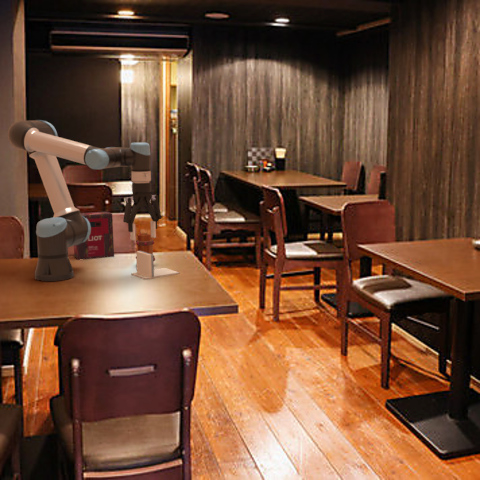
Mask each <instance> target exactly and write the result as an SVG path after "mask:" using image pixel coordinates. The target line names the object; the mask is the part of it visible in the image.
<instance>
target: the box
mask: <svg viewBox="0 0 480 480" xmlns="http://www.w3.org/2000/svg"><path fill="white" fill-rule="evenodd" d="M80 213H81V216H83V217H85V218H87V219H88V221H89V223H90V226H91V233H90V235H89V238H88V239H87V240H86V241H85V242H83V243H81V244H79V245H75V246H73V256H74V258H75V257H76V258H77V259H76V258H75V259H76V260H77V261H79V260H80V259H83V260H90V259H91V260H92V259H102V258H104V259H105V258H114V257H115V251H114V250H115V248H114V244H115V243H114V226H113V224H114V223H113V220H114V219H113V213H111V212H110V211H97V212H96V211H95V212H94V211H93V212H80ZM80 261H81V260H80Z"/></svg>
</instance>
